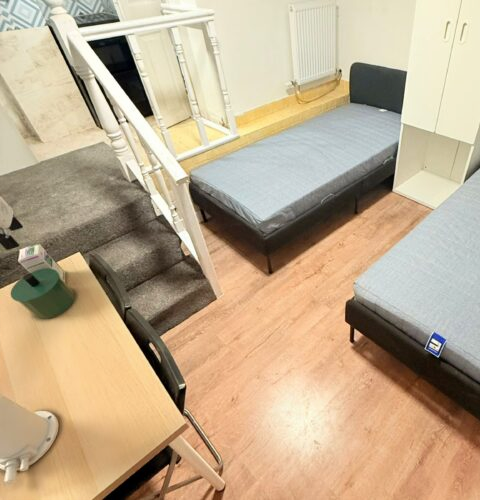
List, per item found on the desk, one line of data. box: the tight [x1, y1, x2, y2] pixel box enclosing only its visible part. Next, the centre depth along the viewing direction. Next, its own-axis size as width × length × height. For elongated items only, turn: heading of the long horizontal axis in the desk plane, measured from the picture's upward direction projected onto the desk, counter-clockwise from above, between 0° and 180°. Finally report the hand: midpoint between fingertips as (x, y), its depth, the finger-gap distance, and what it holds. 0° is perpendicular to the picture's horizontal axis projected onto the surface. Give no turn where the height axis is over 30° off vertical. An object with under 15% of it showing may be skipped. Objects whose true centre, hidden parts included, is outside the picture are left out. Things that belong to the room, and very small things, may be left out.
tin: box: [19, 278, 76, 320], centre depth 104 cm, size 12×12×10 cm
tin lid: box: [10, 269, 60, 303], centre depth 100 cm, size 13×13×5 cm
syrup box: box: [17, 243, 66, 283], centre depth 109 cm, size 6×6×14 cm
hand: (15, 238), depth 100 cm, fingers open, 9 cm apart
